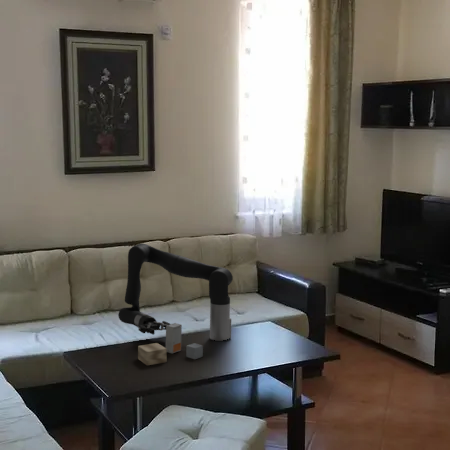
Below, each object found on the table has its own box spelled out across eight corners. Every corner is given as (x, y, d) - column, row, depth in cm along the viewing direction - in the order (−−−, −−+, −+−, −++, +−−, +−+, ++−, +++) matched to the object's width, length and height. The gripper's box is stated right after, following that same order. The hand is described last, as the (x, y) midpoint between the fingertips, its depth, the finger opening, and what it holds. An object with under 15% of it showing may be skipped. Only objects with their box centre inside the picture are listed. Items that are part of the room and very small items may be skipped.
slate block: (194, 354, 302) (194, 343, 301) (202, 356, 298) (202, 345, 298) (186, 356, 298) (186, 345, 297) (194, 359, 295) (195, 348, 294)
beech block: (157, 356, 298) (157, 342, 297) (166, 362, 290) (166, 348, 290) (138, 359, 293) (138, 345, 293) (146, 365, 286) (147, 351, 285)
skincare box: (172, 353, 301) (172, 327, 299) (165, 351, 304) (165, 325, 302) (181, 350, 306) (182, 324, 304) (174, 348, 308) (174, 322, 307)
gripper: (131, 316, 321) (148, 325, 308) (158, 312, 329) (175, 320, 316) (131, 332, 322) (148, 341, 309) (158, 328, 330) (175, 336, 317)
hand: (162, 330), depth 312 cm, fingers open, 8 cm apart
